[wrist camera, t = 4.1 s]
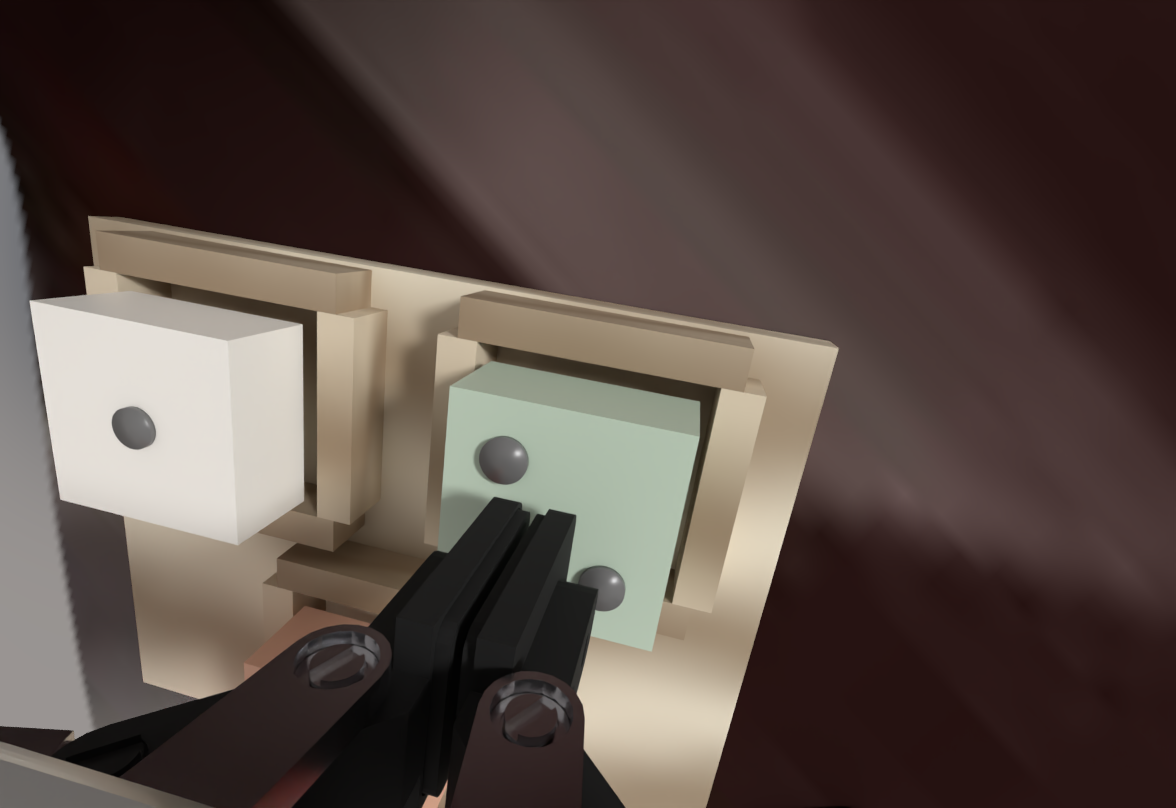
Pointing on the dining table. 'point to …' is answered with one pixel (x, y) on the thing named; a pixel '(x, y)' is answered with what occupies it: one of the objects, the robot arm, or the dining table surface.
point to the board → (416, 462)
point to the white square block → (173, 410)
